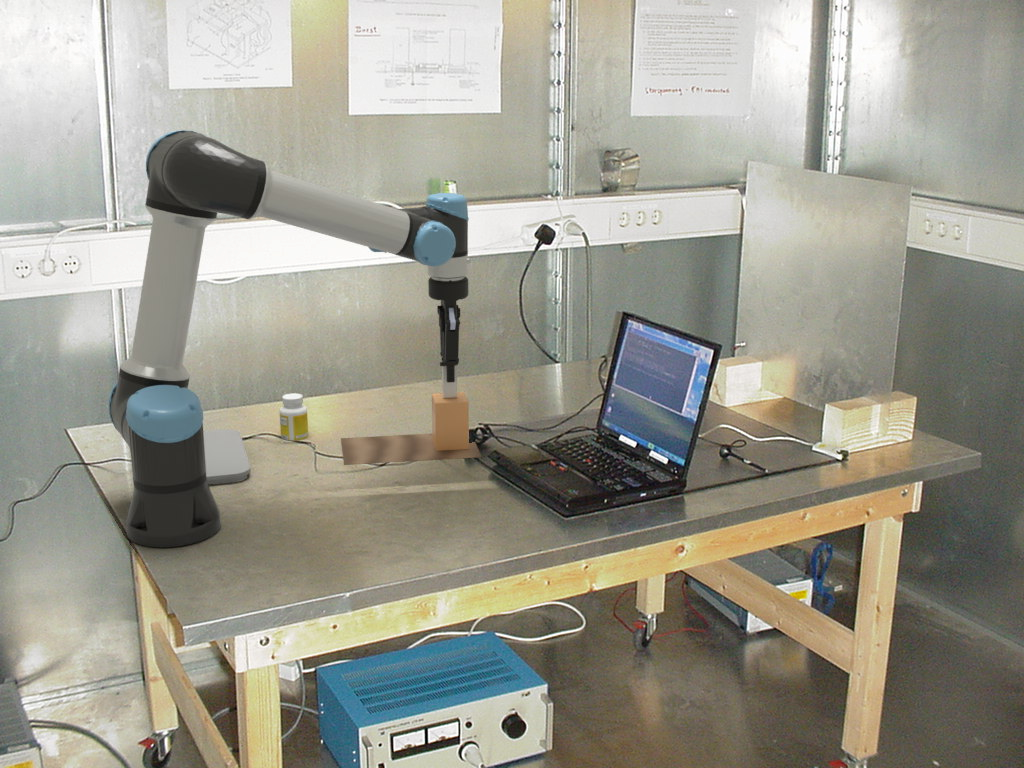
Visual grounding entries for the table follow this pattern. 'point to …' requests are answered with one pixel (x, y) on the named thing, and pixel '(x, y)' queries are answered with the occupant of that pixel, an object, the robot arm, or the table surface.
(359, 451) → the walnut board
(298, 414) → the supplement bottle
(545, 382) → the table surface
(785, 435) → the table surface
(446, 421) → the upright tan block
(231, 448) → the tablet
